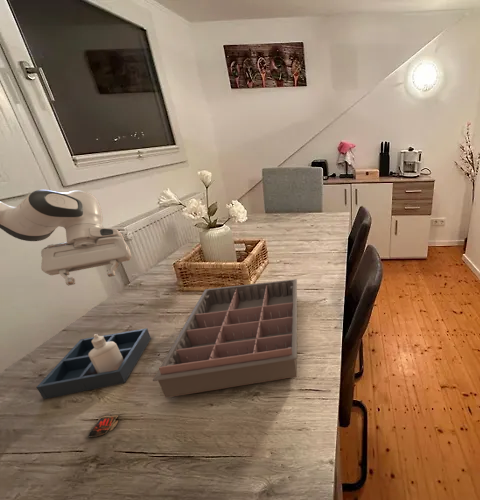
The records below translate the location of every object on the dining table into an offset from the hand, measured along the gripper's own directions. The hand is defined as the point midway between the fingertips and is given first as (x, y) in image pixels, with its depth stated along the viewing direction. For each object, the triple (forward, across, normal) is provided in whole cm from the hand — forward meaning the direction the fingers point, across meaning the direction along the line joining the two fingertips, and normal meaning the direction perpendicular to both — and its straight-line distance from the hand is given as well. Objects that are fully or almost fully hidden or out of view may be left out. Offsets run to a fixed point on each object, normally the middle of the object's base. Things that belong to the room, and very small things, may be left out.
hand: (91, 280), depth 83 cm
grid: (+25, 0, +3) cm, 25 cm away
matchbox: (+41, +3, -13) cm, 43 cm away
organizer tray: (+32, +36, -4) cm, 48 cm away
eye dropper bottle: (+28, +2, -1) cm, 28 cm away
